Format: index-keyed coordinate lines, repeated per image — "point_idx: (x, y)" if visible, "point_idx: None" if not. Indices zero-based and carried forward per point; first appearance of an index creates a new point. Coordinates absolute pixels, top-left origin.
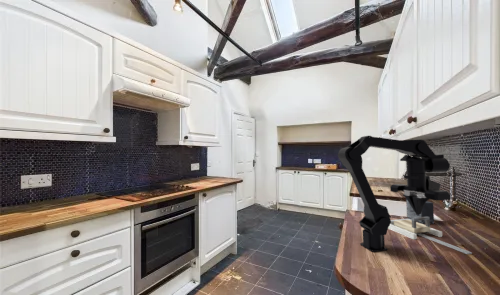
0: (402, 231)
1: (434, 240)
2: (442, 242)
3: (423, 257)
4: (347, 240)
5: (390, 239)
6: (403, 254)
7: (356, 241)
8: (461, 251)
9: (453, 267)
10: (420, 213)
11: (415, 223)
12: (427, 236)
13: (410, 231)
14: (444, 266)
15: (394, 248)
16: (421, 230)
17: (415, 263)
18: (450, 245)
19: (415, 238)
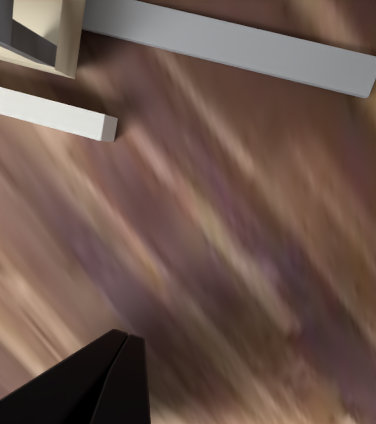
0: (28, 120)
1: (182, 51)
2: (223, 42)
3: (255, 329)
4: None
5: (67, 254)
6: (197, 366)
7: None
8: (337, 91)
9: (365, 325)
10: (144, 350)
11: (31, 39)
12: (125, 13)
13: None
14: (339, 344)
15: None
16: (76, 2)
17: (264, 404)
18: (271, 53)
19: (113, 127)
